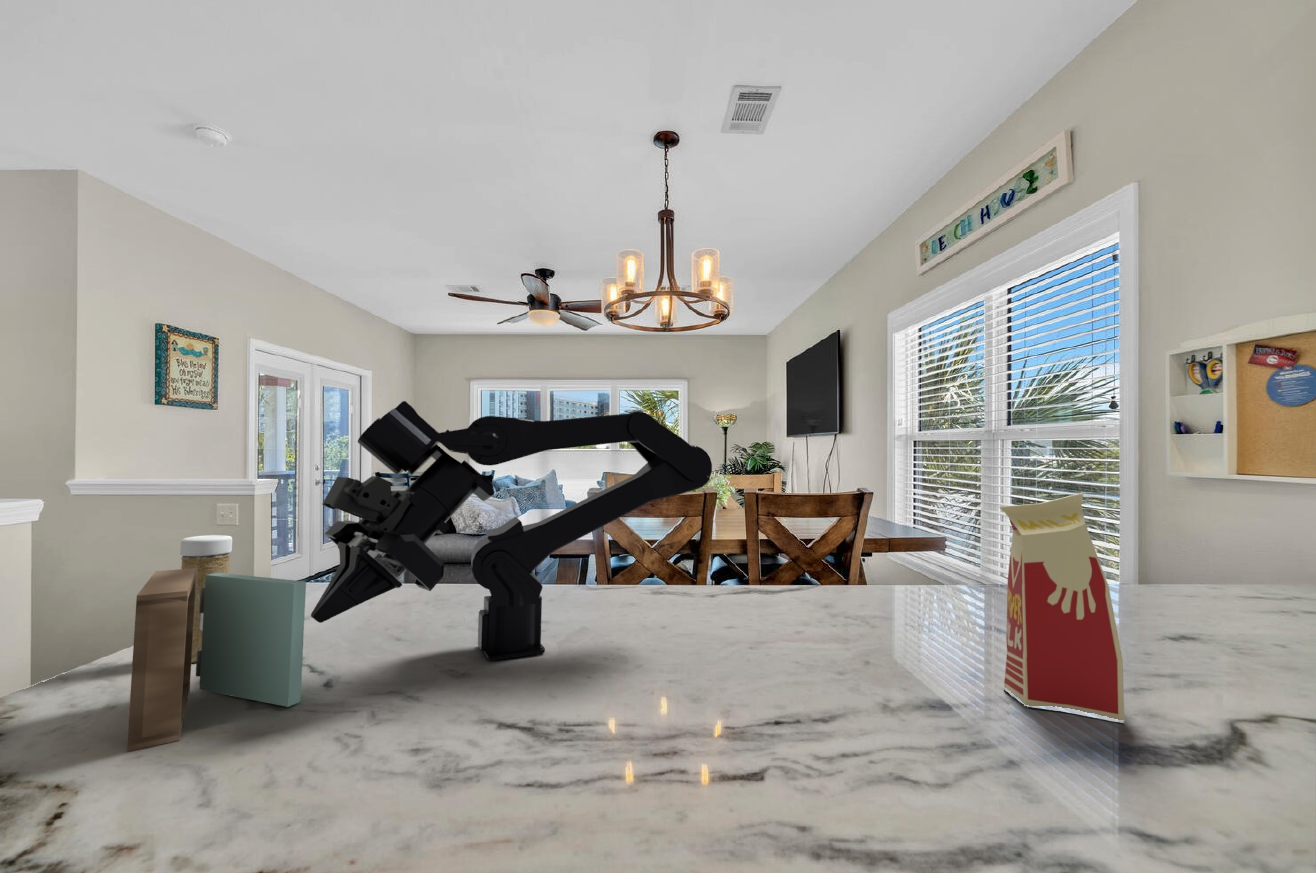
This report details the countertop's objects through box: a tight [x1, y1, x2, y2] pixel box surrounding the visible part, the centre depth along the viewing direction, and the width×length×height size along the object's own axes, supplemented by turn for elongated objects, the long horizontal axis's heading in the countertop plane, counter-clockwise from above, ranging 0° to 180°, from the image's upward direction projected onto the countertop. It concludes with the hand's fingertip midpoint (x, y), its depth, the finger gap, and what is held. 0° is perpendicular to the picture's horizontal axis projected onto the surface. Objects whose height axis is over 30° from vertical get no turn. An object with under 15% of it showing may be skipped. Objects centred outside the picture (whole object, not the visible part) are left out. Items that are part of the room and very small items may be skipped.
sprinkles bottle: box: [179, 534, 233, 664], centre depth 63 cm, size 5×5×13 cm
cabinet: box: [126, 568, 197, 752], centre depth 48 cm, size 3×12×12 cm, turn 37°
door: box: [195, 573, 307, 708], centre depth 52 cm, size 1×12×11 cm, turn 72°
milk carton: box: [998, 492, 1125, 721], centre depth 55 cm, size 9×9×20 cm
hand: (315, 619), depth 55 cm, fingers closed
